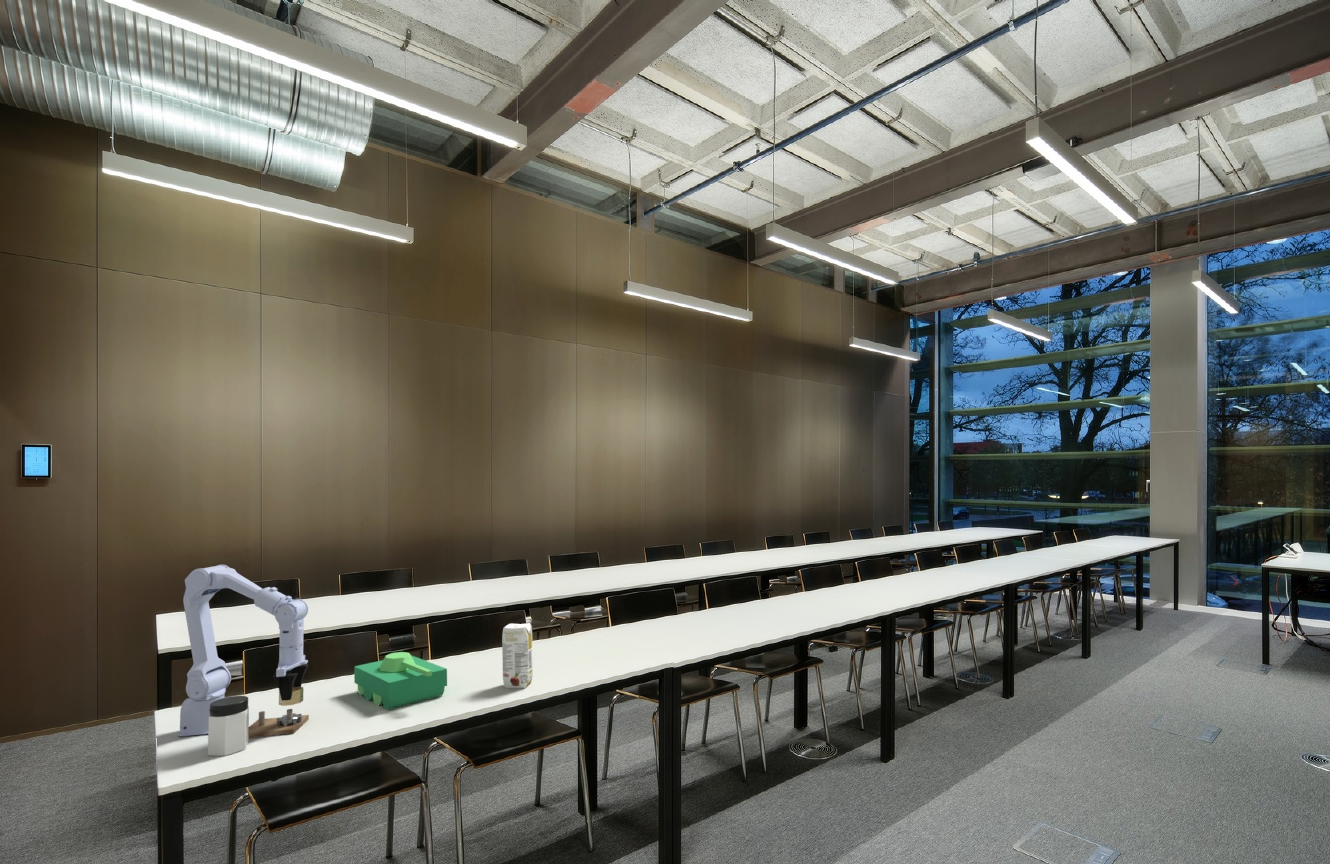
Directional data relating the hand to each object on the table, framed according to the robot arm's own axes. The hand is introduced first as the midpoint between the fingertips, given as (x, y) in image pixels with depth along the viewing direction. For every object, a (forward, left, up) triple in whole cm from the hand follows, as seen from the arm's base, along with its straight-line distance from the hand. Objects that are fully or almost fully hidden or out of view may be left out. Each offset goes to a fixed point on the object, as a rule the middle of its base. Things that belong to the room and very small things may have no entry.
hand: (290, 696), depth 179 cm
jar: (-10, -12, -9) cm, 18 cm away
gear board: (-4, 0, -8) cm, 9 cm away
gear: (0, +1, -7) cm, 7 cm away
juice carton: (+60, +21, -9) cm, 64 cm away
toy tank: (+26, +19, -9) cm, 33 cm away
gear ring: (0, 0, -2) cm, 2 cm away
